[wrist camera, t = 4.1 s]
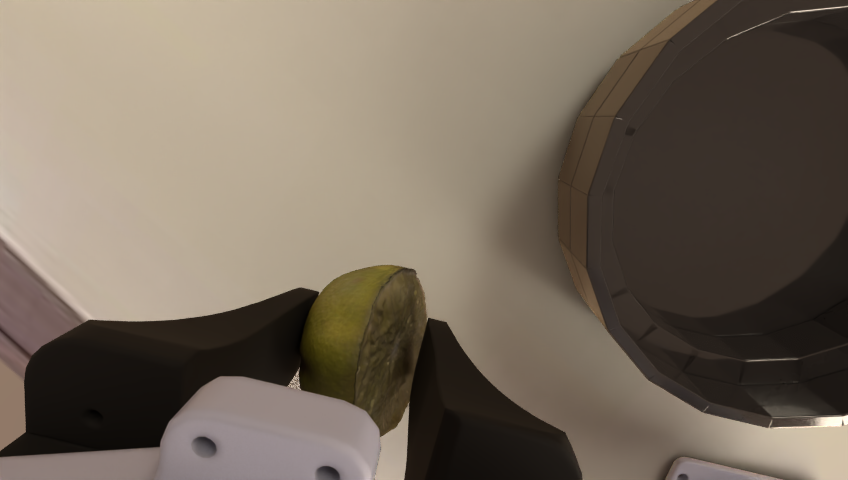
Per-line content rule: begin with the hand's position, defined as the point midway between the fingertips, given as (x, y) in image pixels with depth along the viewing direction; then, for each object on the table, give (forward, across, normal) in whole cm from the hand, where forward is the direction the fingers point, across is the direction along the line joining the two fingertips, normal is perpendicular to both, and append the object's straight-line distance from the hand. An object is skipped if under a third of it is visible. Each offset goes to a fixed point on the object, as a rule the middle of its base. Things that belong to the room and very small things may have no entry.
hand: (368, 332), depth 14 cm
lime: (+2, 0, 0) cm, 2 cm away
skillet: (+6, -14, -7) cm, 17 cm away
